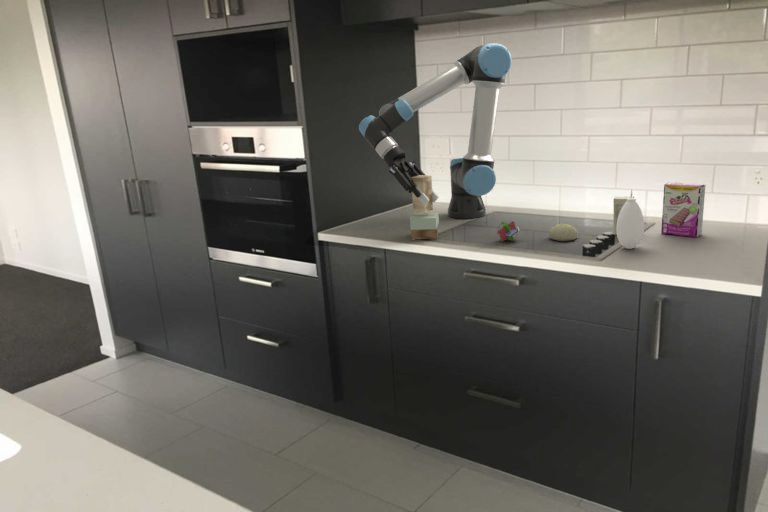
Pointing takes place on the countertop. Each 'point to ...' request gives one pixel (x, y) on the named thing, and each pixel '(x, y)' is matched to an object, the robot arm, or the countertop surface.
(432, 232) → the tower base block
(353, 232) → the countertop surface
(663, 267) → the countertop surface
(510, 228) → the geometric puzzle
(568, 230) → the sea urchin shell
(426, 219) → the tower top block
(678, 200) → the candy bar box
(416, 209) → the tall oak block
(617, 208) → the skincare box
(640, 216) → the white air blower bulb
